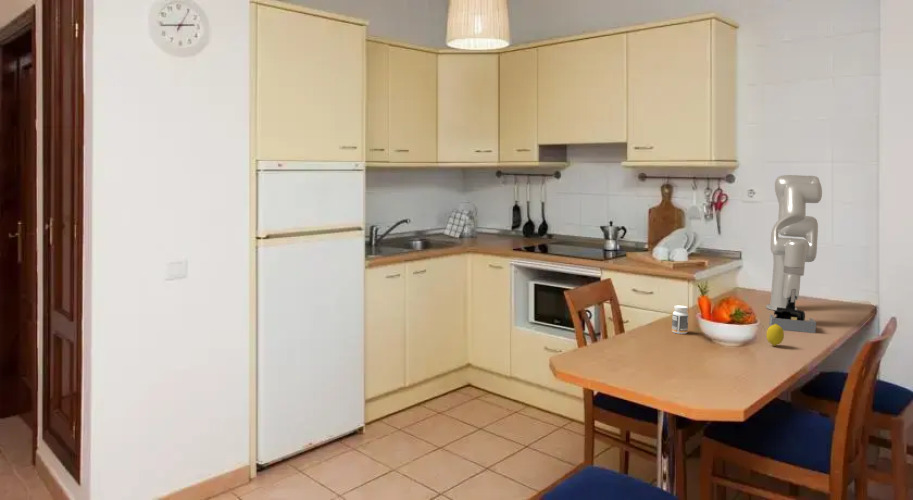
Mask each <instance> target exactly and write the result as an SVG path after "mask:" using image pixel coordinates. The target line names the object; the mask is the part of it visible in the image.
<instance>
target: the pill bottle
mask: <svg viewBox="0 0 913 500" xmlns="http://www.w3.org/2000/svg"><path fill="white" fill-rule="evenodd" d="M688 308H689V307H688V306H686V305H678V304H677V305H674V311H673V312H672V321H671V332H672V333H674V334H677V335H678V334H679V335H685V334H687V333H688V329H689V312H687V311H688Z"/></svg>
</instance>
